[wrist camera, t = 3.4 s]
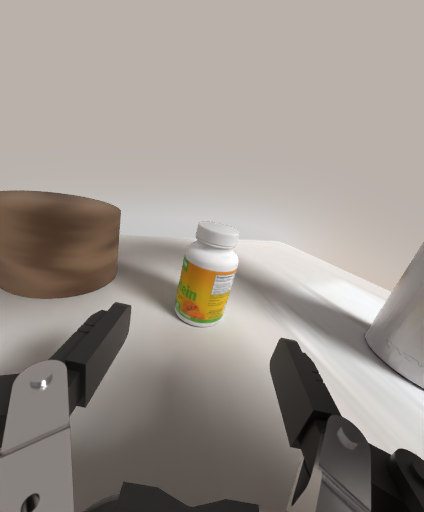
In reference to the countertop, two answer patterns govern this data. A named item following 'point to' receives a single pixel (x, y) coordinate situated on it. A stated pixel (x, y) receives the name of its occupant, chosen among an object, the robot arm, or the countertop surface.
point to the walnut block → (56, 244)
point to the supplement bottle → (207, 275)
